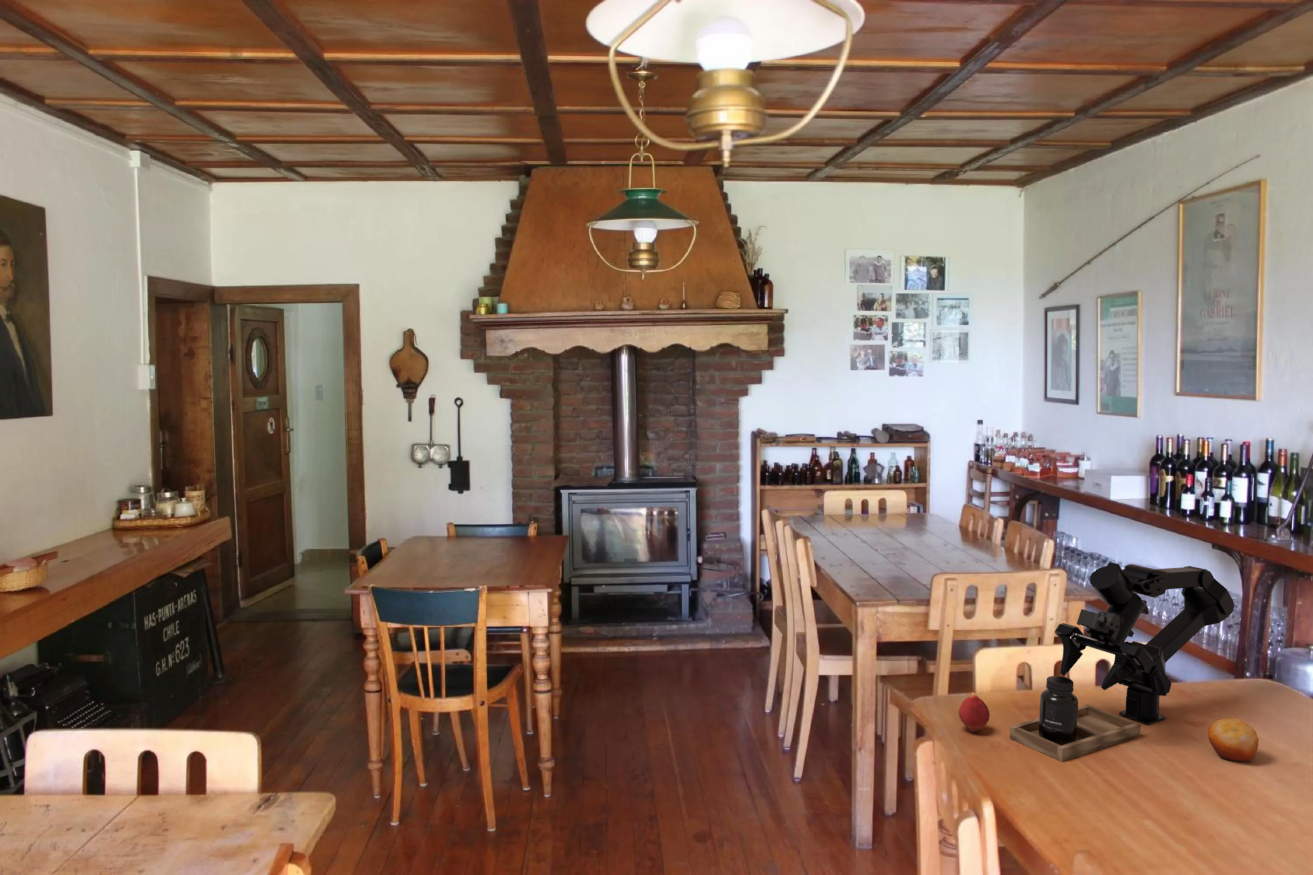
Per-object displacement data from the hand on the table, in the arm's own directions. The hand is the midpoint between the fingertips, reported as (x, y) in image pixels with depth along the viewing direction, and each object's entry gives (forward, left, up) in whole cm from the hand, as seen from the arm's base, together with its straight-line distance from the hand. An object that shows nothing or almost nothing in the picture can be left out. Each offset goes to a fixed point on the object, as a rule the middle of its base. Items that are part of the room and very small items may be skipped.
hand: (1081, 681), depth 182 cm
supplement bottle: (+7, 0, -11) cm, 13 cm away
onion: (+17, -12, -11) cm, 23 cm away
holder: (+2, 0, -11) cm, 11 cm away
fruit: (-16, +20, -11) cm, 28 cm away
